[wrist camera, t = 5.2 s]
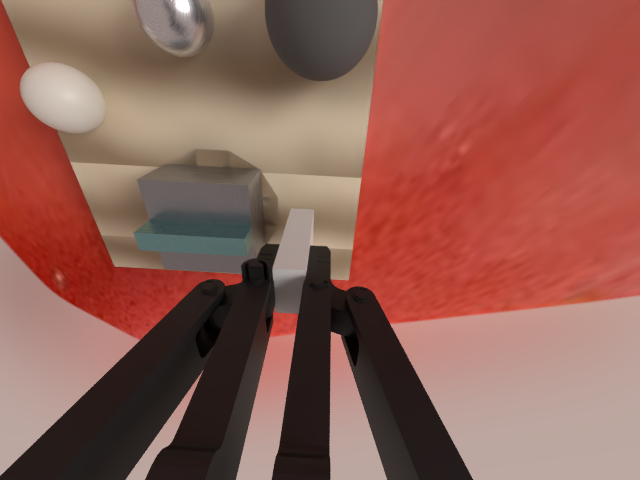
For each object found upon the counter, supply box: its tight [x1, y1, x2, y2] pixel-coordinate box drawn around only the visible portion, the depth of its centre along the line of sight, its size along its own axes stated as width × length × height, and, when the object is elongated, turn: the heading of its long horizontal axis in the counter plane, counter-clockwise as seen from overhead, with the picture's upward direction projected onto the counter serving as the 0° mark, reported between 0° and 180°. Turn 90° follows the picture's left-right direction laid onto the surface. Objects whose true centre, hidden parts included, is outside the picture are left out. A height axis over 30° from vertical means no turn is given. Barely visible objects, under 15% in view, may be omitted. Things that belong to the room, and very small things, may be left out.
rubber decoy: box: [265, 0, 378, 81], centre depth 12 cm, size 5×5×5 cm
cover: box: [134, 164, 266, 273], centre depth 18 cm, size 6×6×5 cm
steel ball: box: [131, 0, 214, 57], centre depth 13 cm, size 4×4×4 cm
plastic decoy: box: [20, 62, 106, 133], centre depth 15 cm, size 4×4×4 cm
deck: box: [2, 0, 383, 280], centre depth 19 cm, size 22×20×2 cm
